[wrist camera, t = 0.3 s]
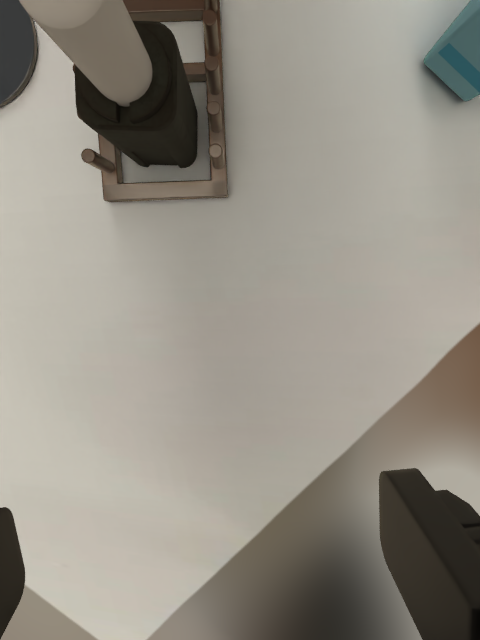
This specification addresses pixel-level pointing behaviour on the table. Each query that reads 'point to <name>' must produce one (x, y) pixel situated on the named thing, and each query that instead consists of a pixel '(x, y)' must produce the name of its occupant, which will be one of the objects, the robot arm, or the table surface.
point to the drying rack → (204, 4)
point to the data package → (459, 54)
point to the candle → (125, 78)
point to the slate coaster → (15, 49)
